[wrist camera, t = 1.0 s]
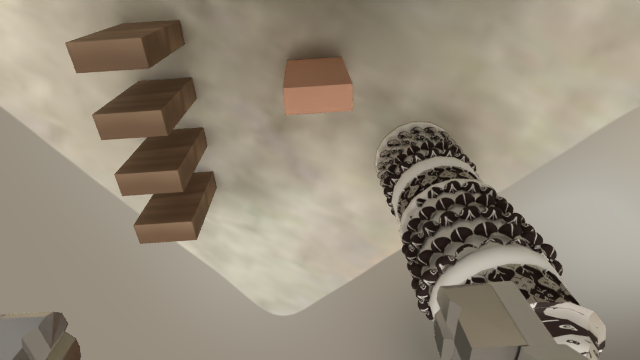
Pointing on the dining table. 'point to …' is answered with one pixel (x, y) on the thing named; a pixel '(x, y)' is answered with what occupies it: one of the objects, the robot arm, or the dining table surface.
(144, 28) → the domino
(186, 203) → the domino
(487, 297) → the robot arm
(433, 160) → the decorative candle
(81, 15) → the dining table surface
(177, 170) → the domino
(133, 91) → the domino
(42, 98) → the dining table surface
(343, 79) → the domino
